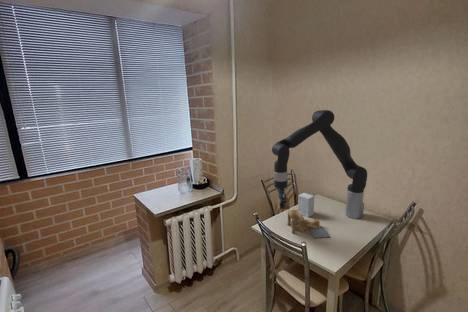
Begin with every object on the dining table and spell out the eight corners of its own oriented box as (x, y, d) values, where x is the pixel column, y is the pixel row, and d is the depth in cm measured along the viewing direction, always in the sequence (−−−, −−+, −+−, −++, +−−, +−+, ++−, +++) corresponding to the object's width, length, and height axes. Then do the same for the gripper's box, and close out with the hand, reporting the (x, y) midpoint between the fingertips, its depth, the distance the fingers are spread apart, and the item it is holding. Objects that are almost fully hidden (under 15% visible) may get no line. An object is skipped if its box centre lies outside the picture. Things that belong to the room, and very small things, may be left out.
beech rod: (316, 225, 150) (317, 218, 149) (319, 228, 147) (319, 221, 146) (291, 227, 149) (291, 220, 148) (292, 230, 146) (292, 223, 145)
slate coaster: (324, 228, 146) (324, 227, 146) (330, 237, 137) (330, 236, 137) (308, 229, 145) (308, 228, 145) (314, 238, 137) (314, 237, 137)
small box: (313, 214, 163) (314, 195, 160) (308, 217, 160) (308, 198, 156) (303, 210, 170) (303, 192, 166) (297, 213, 166) (298, 195, 162)
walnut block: (286, 204, 147) (286, 196, 145) (289, 209, 141) (289, 200, 140) (277, 205, 147) (277, 197, 145) (279, 209, 141) (279, 200, 140)
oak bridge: (298, 223, 153) (298, 209, 151) (303, 233, 142) (304, 218, 140) (287, 223, 153) (287, 210, 151) (292, 233, 142) (292, 219, 140)
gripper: (290, 182, 133) (290, 211, 137) (284, 174, 147) (284, 200, 151) (276, 183, 133) (277, 212, 137) (271, 175, 146) (272, 201, 151)
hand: (281, 206), depth 144 cm, fingers closed on walnut block, 5 cm apart
